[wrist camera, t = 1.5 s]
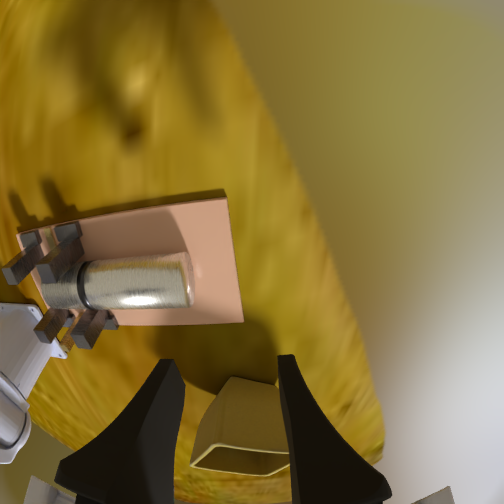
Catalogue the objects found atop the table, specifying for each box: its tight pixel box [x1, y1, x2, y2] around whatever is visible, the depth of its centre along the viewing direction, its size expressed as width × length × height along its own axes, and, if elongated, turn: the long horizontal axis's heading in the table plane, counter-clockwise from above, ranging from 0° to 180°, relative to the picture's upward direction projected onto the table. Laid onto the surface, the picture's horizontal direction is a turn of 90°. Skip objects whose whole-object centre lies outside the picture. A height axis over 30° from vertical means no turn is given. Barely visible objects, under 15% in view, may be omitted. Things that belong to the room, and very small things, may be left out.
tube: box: [41, 252, 195, 310], centre depth 17 cm, size 12×4×4 cm, turn 95°
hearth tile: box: [16, 197, 244, 325], centre depth 20 cm, size 20×10×1 cm, turn 95°
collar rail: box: [2, 221, 119, 352], centre depth 18 cm, size 7×10×4 cm
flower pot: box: [190, 377, 290, 476], centre depth 23 cm, size 9×9×9 cm
